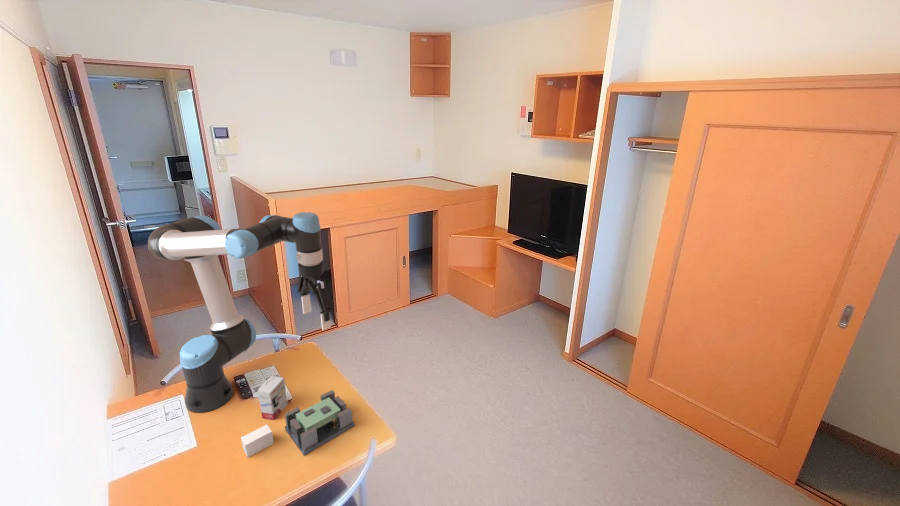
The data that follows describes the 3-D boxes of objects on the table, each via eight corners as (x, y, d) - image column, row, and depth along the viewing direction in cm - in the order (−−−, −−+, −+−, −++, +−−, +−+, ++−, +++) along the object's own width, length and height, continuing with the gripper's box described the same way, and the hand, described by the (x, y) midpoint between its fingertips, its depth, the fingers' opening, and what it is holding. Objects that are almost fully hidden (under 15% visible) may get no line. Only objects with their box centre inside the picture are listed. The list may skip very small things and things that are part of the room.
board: (296, 420, 132) (295, 412, 131) (329, 402, 140) (328, 395, 139) (307, 434, 127) (306, 426, 126) (341, 415, 135) (340, 408, 134)
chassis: (285, 430, 134) (282, 413, 131) (334, 404, 146) (332, 388, 143) (304, 455, 125) (301, 438, 122) (354, 426, 136) (353, 410, 134)
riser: (243, 449, 126) (240, 437, 124) (269, 436, 131) (267, 424, 129) (247, 457, 123) (245, 445, 122) (273, 443, 129) (271, 431, 127)
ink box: (274, 420, 137) (269, 393, 133) (261, 418, 138) (256, 391, 134) (288, 403, 145) (284, 377, 141) (276, 401, 146) (272, 374, 142)
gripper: (282, 253, 132) (289, 309, 139) (318, 277, 115) (324, 340, 123) (304, 248, 137) (310, 303, 144) (341, 271, 120) (345, 331, 128)
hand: (316, 320), depth 134 cm, fingers open, 13 cm apart
